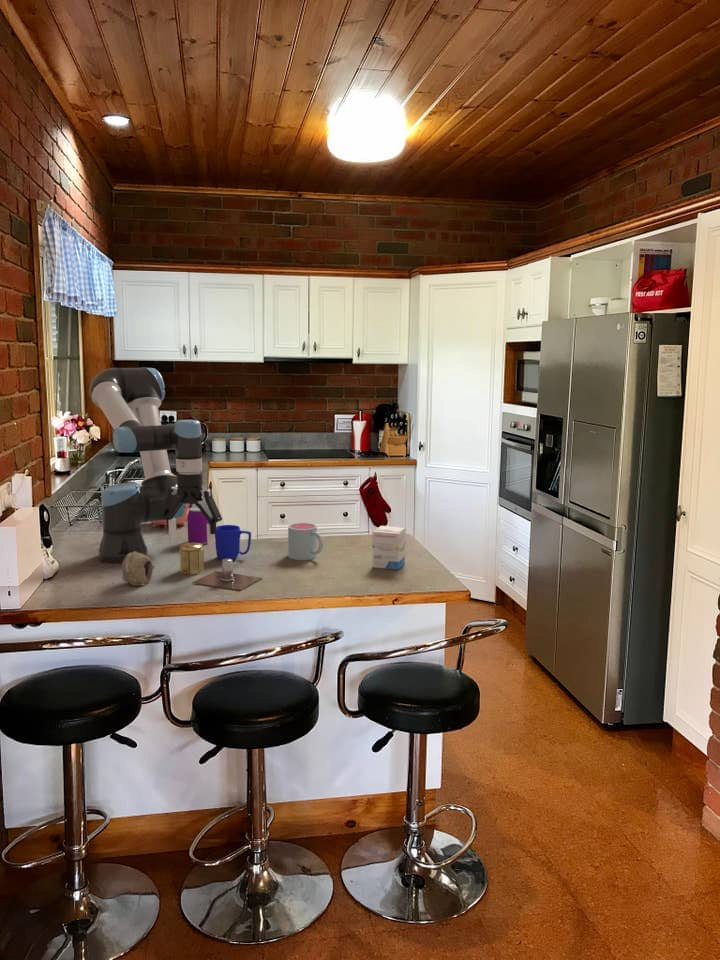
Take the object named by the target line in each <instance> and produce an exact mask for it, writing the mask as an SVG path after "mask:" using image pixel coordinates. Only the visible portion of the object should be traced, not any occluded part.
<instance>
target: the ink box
mask: <svg viewBox="0 0 720 960" xmlns="http://www.w3.org/2000/svg"><path fill="white" fill-rule="evenodd" d="M371 534H372V539H371V540H372V548H371V549H372V561H371V562H372V563H371V564H372V565H371V566H372V568H373V569H374V568H376V569H377V568H378V569H388V570H395V571H397V570H399V569H401V567H403V566H404V565H405V563H406V562H405V561H406V528H405V527H397V526H388V525H380V526H379V527H377V528H376V529H374V530H373V531H372V533H371Z"/></svg>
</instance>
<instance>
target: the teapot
mask: <svg viewBox="0 0 720 960" xmlns="http://www.w3.org/2000/svg"><path fill="white" fill-rule="evenodd" d="M190 505H191V504H189V503H187V504H186V509H185V512H184V514H183V515H182V516H181V517H180V518H176V526H179V527H181V526H185V525H186V524H185V523H186V522H187V515H188V512H189V509H190ZM150 523H151V524H152V525H151V527H154V528H156V527H157V528H158V527H160V525H161V526H162V525H163V526H164V529H165V530H168V529H167V520H161V521H152V522H150Z"/></svg>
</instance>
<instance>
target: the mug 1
mask: <svg viewBox="0 0 720 960" xmlns="http://www.w3.org/2000/svg"><path fill="white" fill-rule="evenodd" d="M241 534H247V535H248V536H247V538H248V539H247V547H246V550H245V551H241V550H240V549H241V548H240V546H241ZM214 536H215V544H214V545H215V553H216V557H217V558H218V559H219V560H221V559H222V560H223V559H232V560H235V559H236V558H238V556H239V555H246V554H248V552H249V551H250V548H251V543H252V542H251V541H252V532H251V531H248V530H241V527H240V526H238V525H234V524H222V525H216V533H215V534H214ZM222 560H221V561H222Z"/></svg>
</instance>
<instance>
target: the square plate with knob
mask: <svg viewBox="0 0 720 960" xmlns="http://www.w3.org/2000/svg"><path fill="white" fill-rule="evenodd" d="M233 565H234V564H233V559H223V560H221V571H217V570H214V571H213V572H210V573H208V574H207V575H204V576H202V577H200V578H198V579H196V580H194V581H192V583H195V584H194V585H199V584H202V585H201V586H205V585H208V587H212V586H213V588H220V589H225V590H232V591H233V590H234V591H238V592H241V591H243V590H245V589H247V588H248V587H250V586H252V585H253V584H255V583H257V582H259V581H262V580H263V577H260V576H253V575H245V574H240V573H239V574H238V573H233V570H234V567H233Z"/></svg>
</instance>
